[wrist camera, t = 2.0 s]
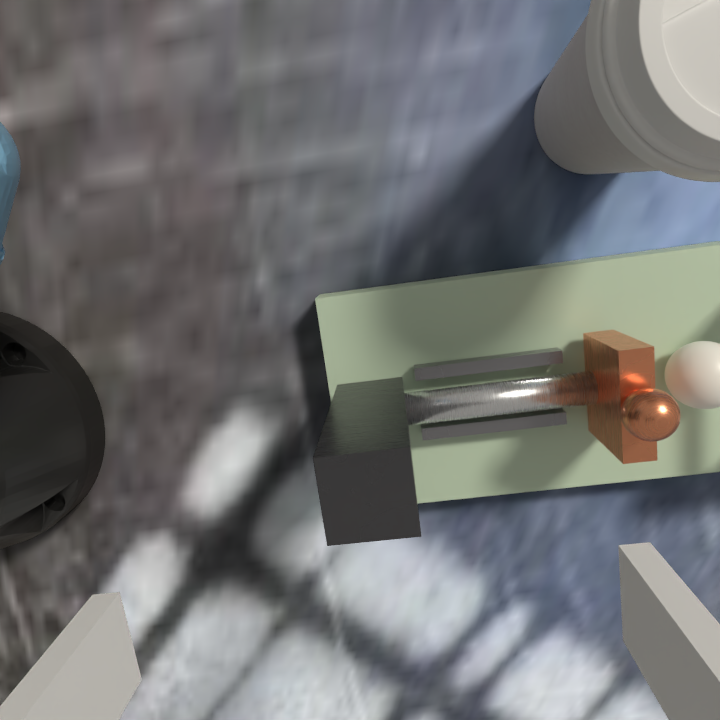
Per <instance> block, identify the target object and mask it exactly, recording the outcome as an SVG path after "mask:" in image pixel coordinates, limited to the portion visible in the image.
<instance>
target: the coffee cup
mask: <svg viewBox="0 0 720 720" xmlns="http://www.w3.org/2000/svg"><path fill="white" fill-rule="evenodd" d="M534 124H535V130H536V135H537V138H538V140H539V143H540V145H541V147H542V148H543V150H544V152H545V153H546V154H547V155H548V157H549V158H550V159H551V160H552V161H553V162H555V163H556V164H557V165H559V166H560V167H562V168H564V169H566V170H568V171H571V172H574V173H579V174H607V173H625V172H644V171H662V172H665V173H667V174H670V175H673V176H676V177H680V178H684V179H689V180H695V181H704V182H720V0H591V3H590V8H589V13H588V15H587V17H586V18H585V20H584V21H583V23H582V24H581V26H580V27H579V29H578V30H577V32H576V34H575V35H574V37H573V38H572V40H571V41H570V43H569V44H568V46H567V47H566V49H565V50H564V52H563V53H562V55H561V57H560V58H559V60H558V61H557V63H556V64H555V66H554V67H553V69H552V70H551V72H550V73H549V75H548V76H547V78H546V80H545V81H544V83H543V85H542V87H541V89H540V91H539V94H538V97H537V100H536V104H535V111H534Z"/></svg>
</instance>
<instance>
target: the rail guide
mask: <svg viewBox="0 0 720 720" xmlns="http://www.w3.org/2000/svg"><path fill="white" fill-rule="evenodd" d="M560 363H563V353H562V350H561V349H559V348H558V347H556V348H548V349H539V350H531V351H523V352H515V353H507V354H499V355H491V356H482V357H474V358H466V359H458V360H450V361H442V362H434V363H425V364H417V365H414V374H415V380H416V381H419V380H427V379H436V378H444V377H452V376H460V375H469V374H477V373H485V372H494V371H502V370H510V369H518V368H527V367H535V366H543V365H552V364H560ZM565 424H567V416H566V412H565V411H564V410H563V409H562V408H557V409H549V410H540V411H531V412H523V413H514V414H505V415H496V416H488V417H479V418H470V419H462V420H453V421H444V422H435V423H427V424H421V432H422V438H423V440H432V439H441V438H450V437H458V436H467V435H476V434H485V433H494V432H503V431H512V430H521V429H529V428H538V427H547V426H556V425H565Z"/></svg>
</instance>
